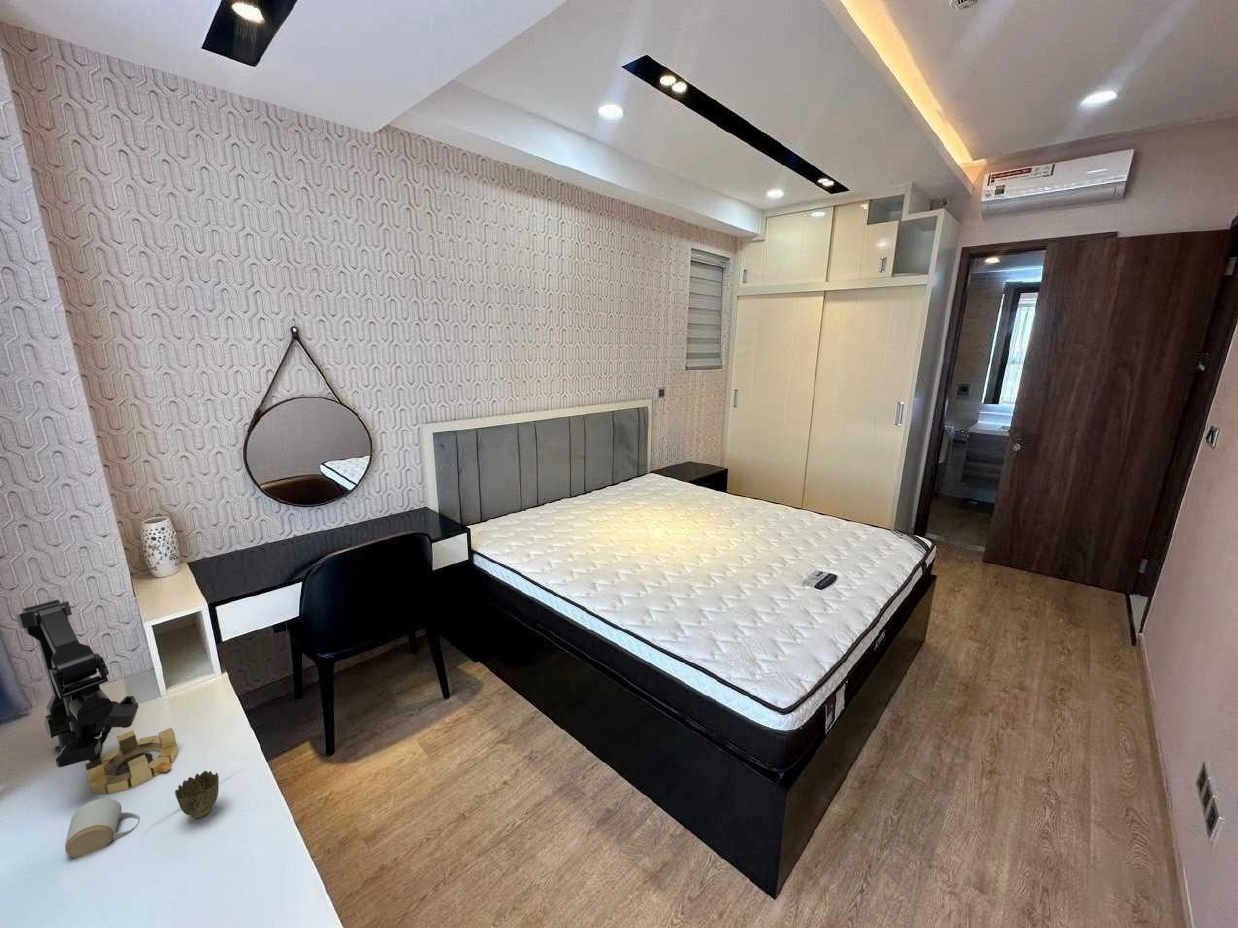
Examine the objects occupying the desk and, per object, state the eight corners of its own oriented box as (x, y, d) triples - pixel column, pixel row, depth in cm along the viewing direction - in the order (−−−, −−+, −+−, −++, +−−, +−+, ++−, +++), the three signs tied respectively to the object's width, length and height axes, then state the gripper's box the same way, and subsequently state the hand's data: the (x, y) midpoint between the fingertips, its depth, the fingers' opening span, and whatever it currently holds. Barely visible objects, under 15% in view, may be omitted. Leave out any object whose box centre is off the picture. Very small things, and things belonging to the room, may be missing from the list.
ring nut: (96, 807, 113) (91, 787, 112) (85, 770, 123) (80, 751, 122) (185, 765, 125) (182, 746, 124) (168, 734, 135) (165, 716, 134)
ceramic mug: (66, 869, 101) (59, 837, 100) (74, 839, 107) (68, 808, 106) (138, 840, 108) (133, 809, 106) (142, 813, 114) (137, 783, 112)
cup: (231, 805, 116) (226, 775, 114) (195, 833, 109) (190, 802, 107) (208, 796, 118) (203, 766, 117) (172, 822, 111) (166, 791, 110)
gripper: (118, 718, 114) (131, 776, 117) (141, 673, 130) (152, 726, 133) (48, 736, 108) (63, 797, 112) (81, 686, 124) (93, 741, 127)
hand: (97, 762), depth 121 cm, fingers closed
